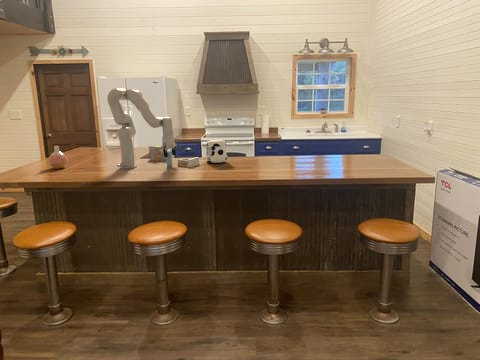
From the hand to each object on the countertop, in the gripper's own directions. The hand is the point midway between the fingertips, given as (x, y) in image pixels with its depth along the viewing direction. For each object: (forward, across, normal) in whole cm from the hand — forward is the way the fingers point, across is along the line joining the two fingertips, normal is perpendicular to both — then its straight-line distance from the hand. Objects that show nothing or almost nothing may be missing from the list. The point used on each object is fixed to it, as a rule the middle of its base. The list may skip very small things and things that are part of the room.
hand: (169, 156), depth 272 cm
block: (+8, -10, +8) cm, 15 cm away
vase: (+6, +37, -80) cm, 88 cm away
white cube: (+10, -31, +23) cm, 40 cm away
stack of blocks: (+9, -23, -29) cm, 38 cm away
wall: (+9, -10, +15) cm, 20 cm away
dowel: (+9, 0, -1) cm, 9 cm away
